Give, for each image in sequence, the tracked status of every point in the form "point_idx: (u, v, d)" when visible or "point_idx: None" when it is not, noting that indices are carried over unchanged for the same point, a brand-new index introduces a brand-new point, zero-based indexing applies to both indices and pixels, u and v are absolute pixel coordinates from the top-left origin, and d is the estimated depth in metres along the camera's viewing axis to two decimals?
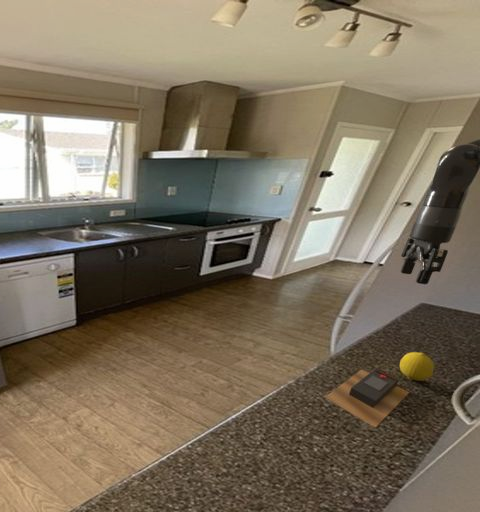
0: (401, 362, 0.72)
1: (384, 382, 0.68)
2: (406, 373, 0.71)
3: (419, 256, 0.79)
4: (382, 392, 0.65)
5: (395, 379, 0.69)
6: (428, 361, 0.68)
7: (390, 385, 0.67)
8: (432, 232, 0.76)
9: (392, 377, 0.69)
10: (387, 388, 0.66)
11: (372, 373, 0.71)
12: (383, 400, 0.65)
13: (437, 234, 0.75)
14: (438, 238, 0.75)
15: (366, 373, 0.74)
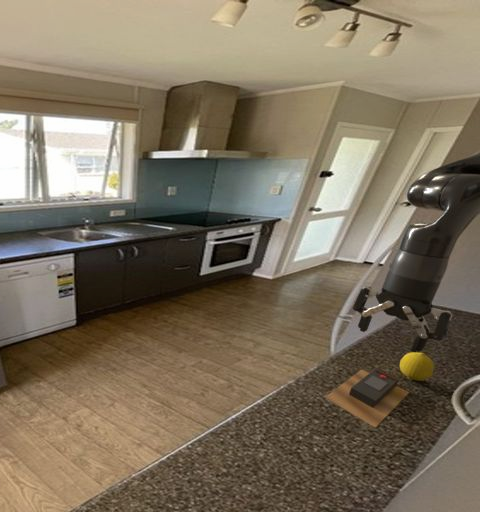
0: (401, 362, 0.72)
1: (384, 382, 0.68)
2: (406, 373, 0.71)
3: (413, 319, 0.59)
4: (382, 392, 0.65)
5: (395, 379, 0.69)
6: (428, 361, 0.68)
7: (390, 385, 0.67)
8: (433, 289, 0.56)
9: (392, 377, 0.69)
10: (387, 388, 0.66)
11: (372, 373, 0.71)
12: (383, 400, 0.65)
13: (435, 291, 0.56)
14: (434, 295, 0.57)
15: (366, 373, 0.74)
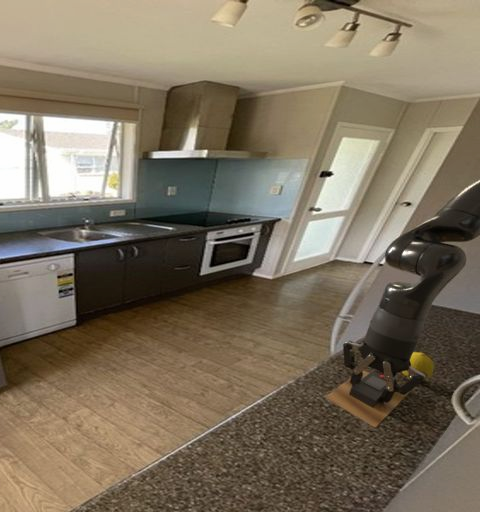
0: None
1: (384, 382, 0.68)
2: (406, 373, 0.71)
3: (388, 374, 0.62)
4: None
5: None
6: (428, 361, 0.68)
7: None
8: (410, 348, 0.58)
9: None
10: None
11: (372, 373, 0.71)
12: None
13: (413, 349, 0.59)
14: (412, 353, 0.59)
15: (366, 373, 0.74)
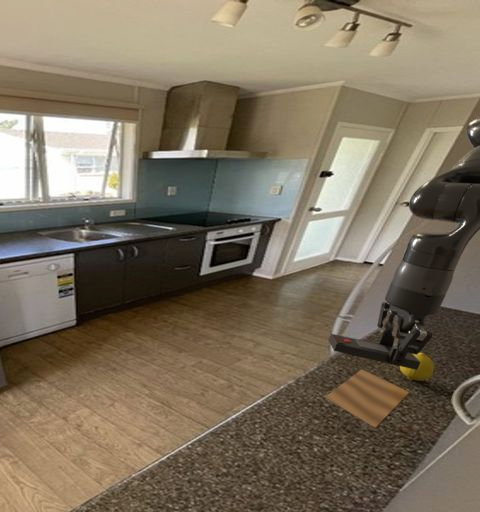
0: None
1: (359, 341, 0.64)
2: (406, 373, 0.71)
3: None
4: None
5: (336, 335, 0.67)
6: (428, 361, 0.68)
7: (356, 339, 0.65)
8: None
9: (337, 336, 0.66)
10: (367, 341, 0.65)
11: (354, 346, 0.63)
12: (383, 400, 0.65)
13: None
14: None
15: (366, 373, 0.74)
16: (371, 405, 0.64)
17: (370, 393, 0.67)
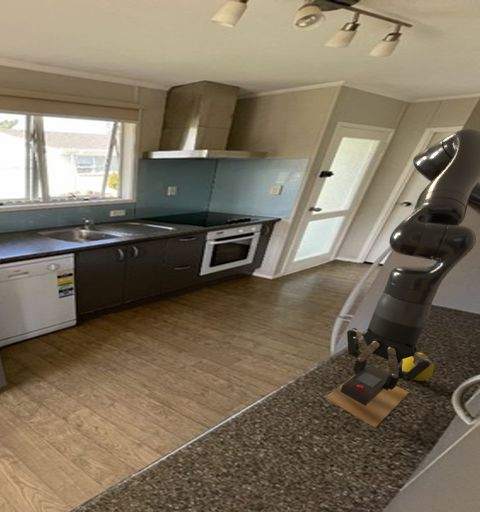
0: None
1: (360, 379, 0.63)
2: None
3: None
4: (362, 371, 0.66)
5: (347, 383, 0.62)
6: None
7: (353, 377, 0.64)
8: None
9: (350, 385, 0.62)
10: (357, 374, 0.65)
11: (372, 391, 0.60)
12: (383, 400, 0.65)
13: None
14: None
15: None
16: (371, 405, 0.64)
17: None
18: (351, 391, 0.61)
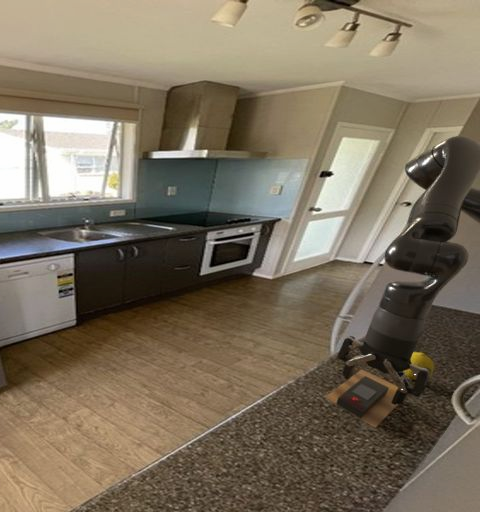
0: None
1: (355, 392, 0.64)
2: (406, 373, 0.71)
3: None
4: (358, 382, 0.67)
5: (342, 396, 0.63)
6: (428, 361, 0.68)
7: (349, 390, 0.65)
8: None
9: (346, 397, 0.63)
10: (352, 386, 0.66)
11: (367, 403, 0.61)
12: (383, 400, 0.65)
13: None
14: None
15: (366, 373, 0.74)
16: None
17: None
18: (347, 404, 0.62)
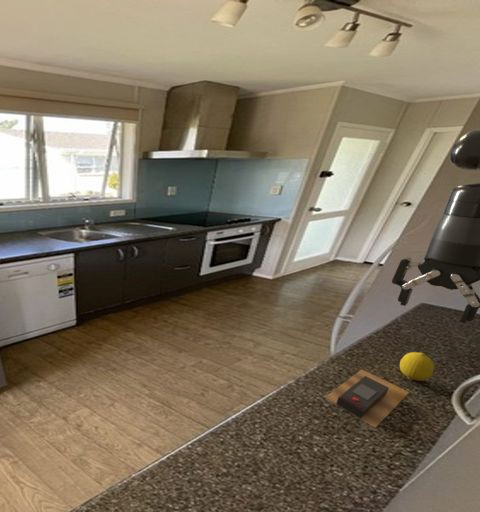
0: (401, 362, 0.72)
1: (355, 392, 0.64)
2: (406, 373, 0.71)
3: None
4: (358, 382, 0.67)
5: (342, 396, 0.63)
6: (428, 361, 0.68)
7: (349, 390, 0.65)
8: None
9: (346, 397, 0.63)
10: (352, 386, 0.66)
11: (367, 403, 0.61)
12: (383, 400, 0.65)
13: None
14: (427, 251, 0.60)
15: (366, 373, 0.74)
16: None
17: None
18: (347, 404, 0.62)
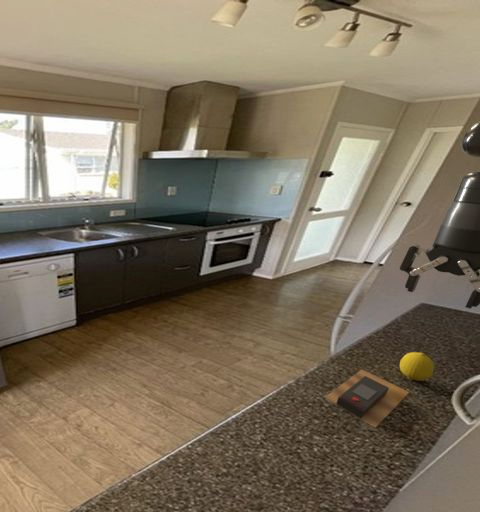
0: (401, 362, 0.72)
1: (355, 392, 0.64)
2: (406, 373, 0.71)
3: None
4: (358, 382, 0.67)
5: (342, 396, 0.63)
6: (428, 361, 0.68)
7: (349, 390, 0.65)
8: None
9: (346, 397, 0.63)
10: (352, 386, 0.66)
11: (367, 403, 0.61)
12: (383, 400, 0.65)
13: None
14: None
15: (366, 373, 0.74)
16: None
17: None
18: (347, 404, 0.62)
